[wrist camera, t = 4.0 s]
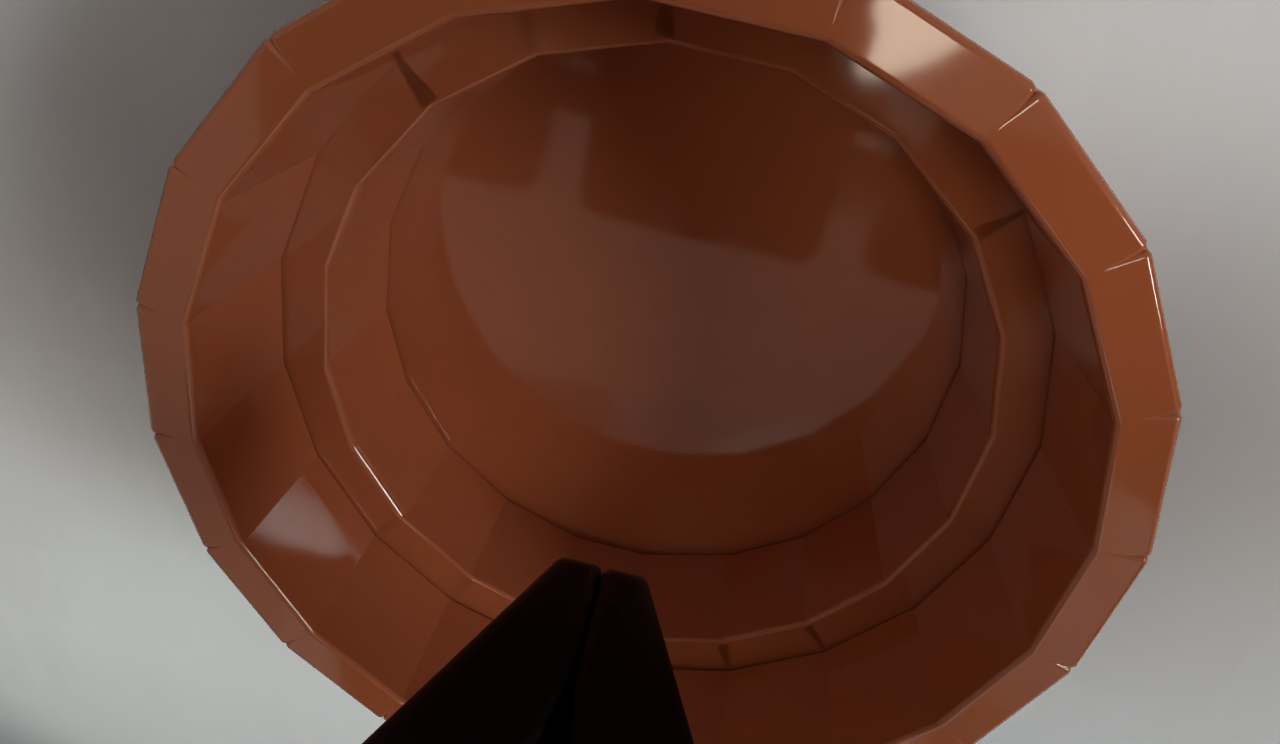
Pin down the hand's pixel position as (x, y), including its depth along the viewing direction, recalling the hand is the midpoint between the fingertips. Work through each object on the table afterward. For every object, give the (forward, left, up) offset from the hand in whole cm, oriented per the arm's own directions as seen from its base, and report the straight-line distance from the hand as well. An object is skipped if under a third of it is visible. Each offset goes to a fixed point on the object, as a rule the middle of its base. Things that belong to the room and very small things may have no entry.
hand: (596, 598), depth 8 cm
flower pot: (0, 0, -6) cm, 6 cm away
